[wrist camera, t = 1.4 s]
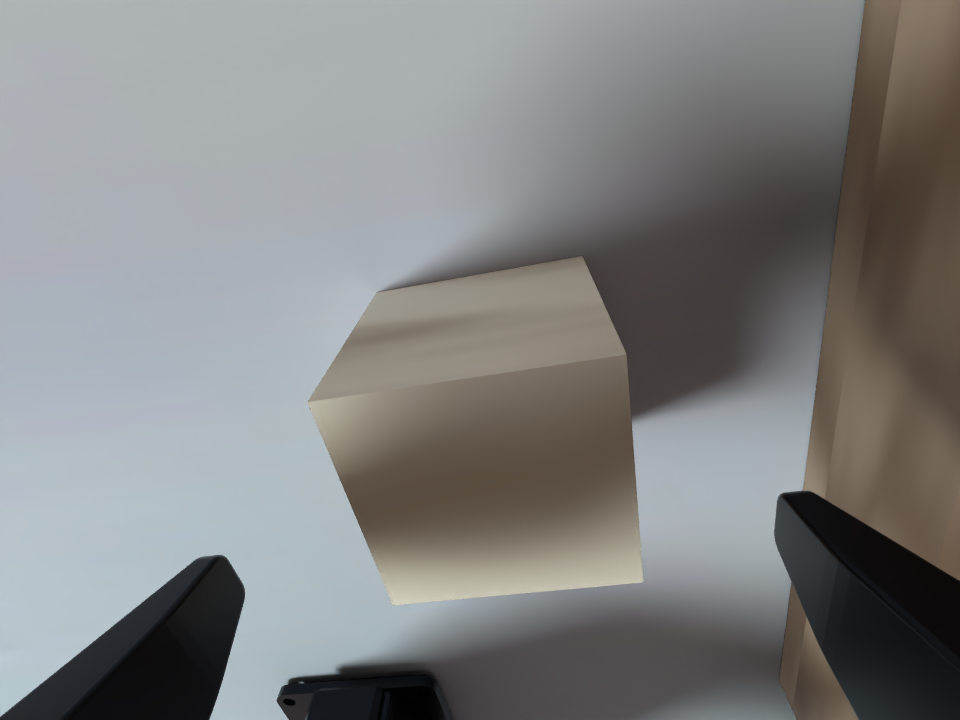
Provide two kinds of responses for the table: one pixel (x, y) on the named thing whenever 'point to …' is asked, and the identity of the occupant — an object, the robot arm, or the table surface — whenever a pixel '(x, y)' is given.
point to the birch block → (487, 436)
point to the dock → (891, 317)
